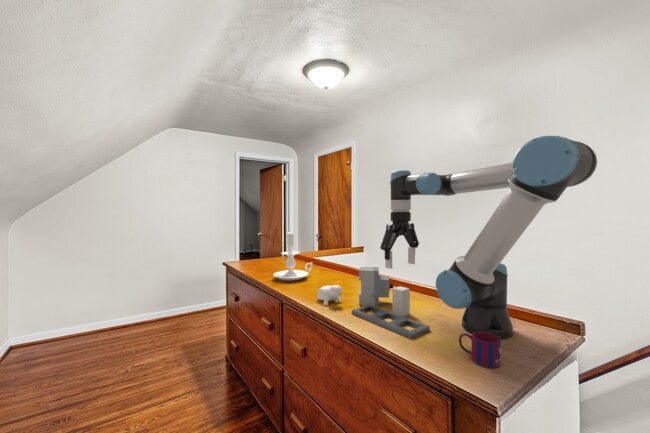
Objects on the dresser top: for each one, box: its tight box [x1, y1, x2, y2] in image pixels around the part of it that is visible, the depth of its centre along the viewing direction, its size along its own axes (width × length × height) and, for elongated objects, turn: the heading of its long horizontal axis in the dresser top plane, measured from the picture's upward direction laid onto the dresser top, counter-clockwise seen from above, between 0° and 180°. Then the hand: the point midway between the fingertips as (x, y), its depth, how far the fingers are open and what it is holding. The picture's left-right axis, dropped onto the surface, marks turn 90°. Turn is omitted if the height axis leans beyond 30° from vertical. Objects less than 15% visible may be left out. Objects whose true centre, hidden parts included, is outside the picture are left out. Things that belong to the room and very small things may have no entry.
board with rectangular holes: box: [351, 305, 431, 340], centre depth 106 cm, size 28×10×2 cm, turn 37°
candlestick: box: [273, 231, 314, 282], centre depth 172 cm, size 21×25×28 cm
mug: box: [458, 332, 502, 369], centre depth 79 cm, size 7×10×7 cm
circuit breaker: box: [358, 266, 394, 307], centre depth 127 cm, size 8×14×15 cm, turn 78°
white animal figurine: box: [316, 284, 343, 307], centre depth 128 cm, size 9×8×15 cm
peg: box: [391, 286, 411, 317], centre depth 114 cm, size 5×5×10 cm
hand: (400, 265), depth 113 cm, fingers open, 13 cm apart
